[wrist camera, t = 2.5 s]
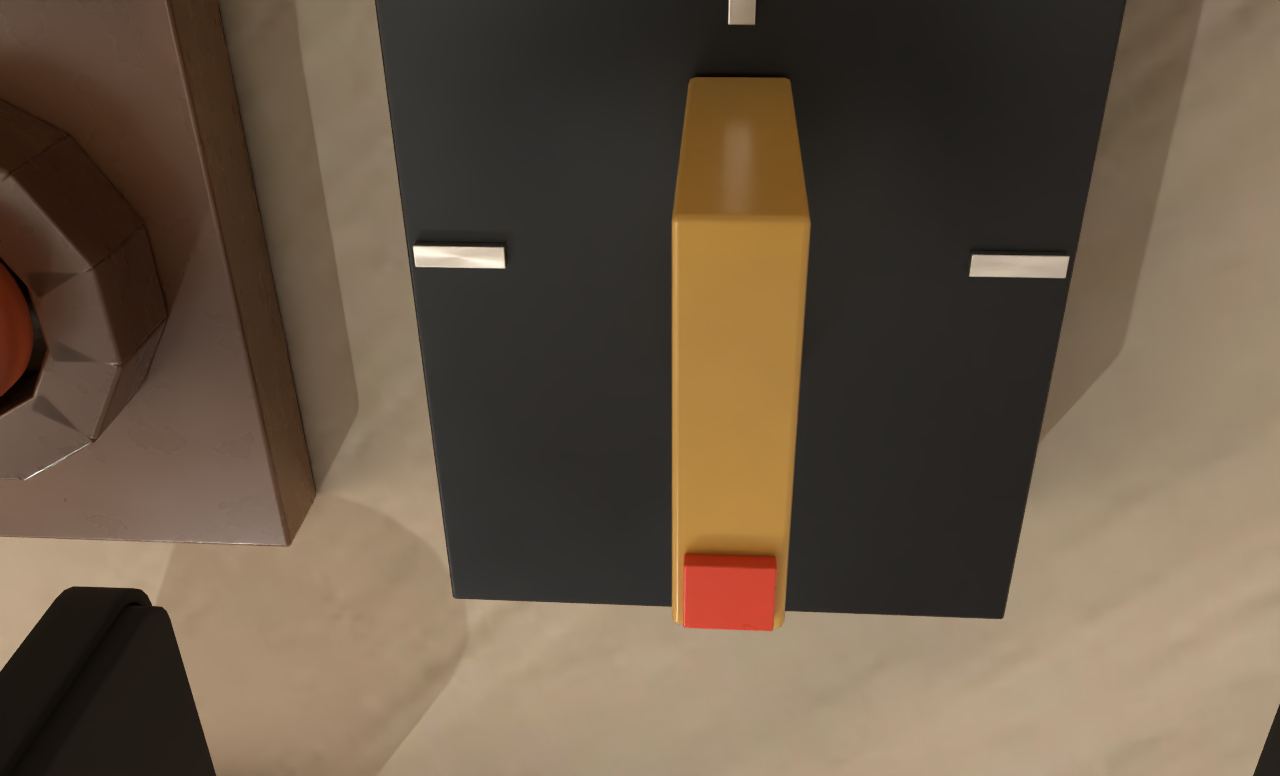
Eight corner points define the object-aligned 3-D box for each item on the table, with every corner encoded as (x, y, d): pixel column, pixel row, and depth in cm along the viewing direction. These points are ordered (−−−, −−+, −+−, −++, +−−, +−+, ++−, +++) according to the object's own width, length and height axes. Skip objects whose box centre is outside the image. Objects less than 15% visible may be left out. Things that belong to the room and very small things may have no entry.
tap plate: (399, -282, 16) (332, -278, 14) (1112, -293, 16) (1191, -292, 13) (483, 501, 24) (450, 605, 21) (974, 517, 23) (1005, 626, 20)
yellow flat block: (688, 75, 16) (669, 226, 11) (791, 75, 16) (813, 228, 11) (686, 413, 19) (670, 640, 14) (773, 415, 18) (784, 645, 14)
